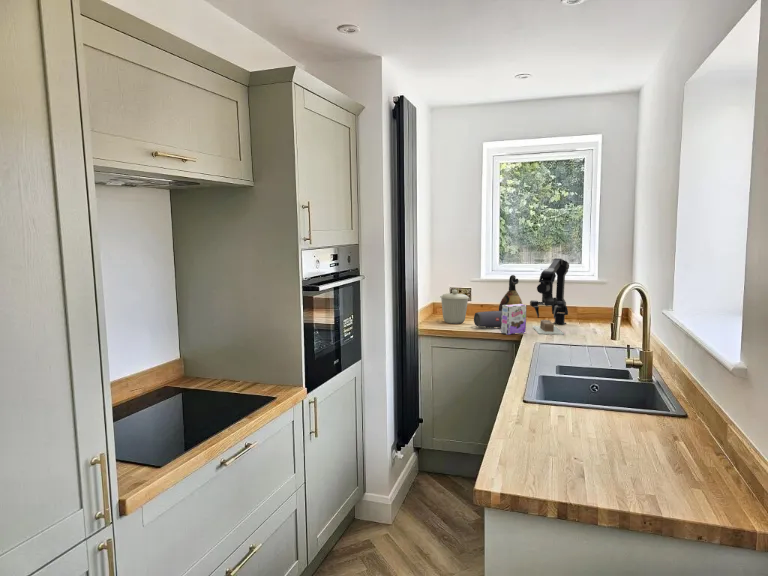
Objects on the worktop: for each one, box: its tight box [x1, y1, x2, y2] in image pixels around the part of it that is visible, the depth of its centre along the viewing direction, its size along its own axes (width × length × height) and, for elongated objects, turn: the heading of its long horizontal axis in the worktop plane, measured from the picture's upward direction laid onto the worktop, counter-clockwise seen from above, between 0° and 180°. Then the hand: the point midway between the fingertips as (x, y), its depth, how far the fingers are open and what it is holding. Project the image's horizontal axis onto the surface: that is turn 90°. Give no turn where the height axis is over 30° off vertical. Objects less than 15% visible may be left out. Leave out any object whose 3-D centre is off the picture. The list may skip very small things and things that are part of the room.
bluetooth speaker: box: [473, 310, 502, 329], centre depth 319 cm, size 23×9×10 cm, turn 106°
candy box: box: [500, 304, 527, 335], centre depth 302 cm, size 14×6×16 cm, turn 117°
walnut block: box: [539, 319, 555, 332], centre depth 310 cm, size 4×5×13 cm
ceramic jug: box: [498, 274, 524, 311], centre depth 341 cm, size 17×15×30 cm
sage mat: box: [531, 325, 565, 336], centre depth 310 cm, size 22×14×1 cm, turn 174°
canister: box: [439, 289, 470, 325], centre depth 335 cm, size 18×18×21 cm
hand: (546, 318), depth 313 cm, fingers open, 9 cm apart
